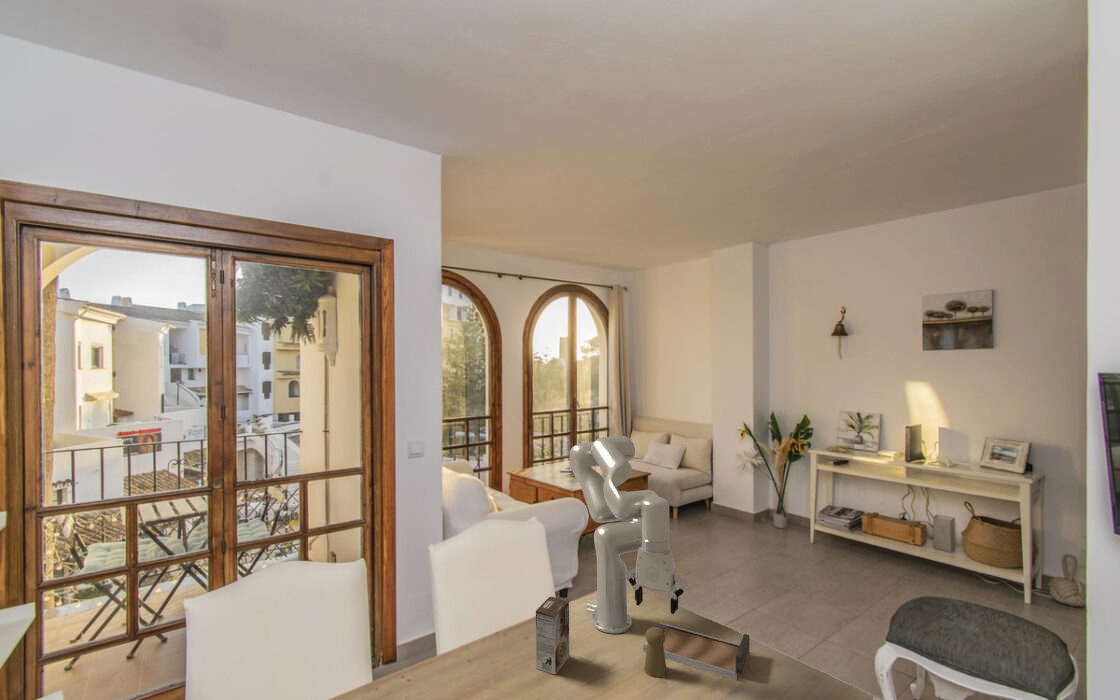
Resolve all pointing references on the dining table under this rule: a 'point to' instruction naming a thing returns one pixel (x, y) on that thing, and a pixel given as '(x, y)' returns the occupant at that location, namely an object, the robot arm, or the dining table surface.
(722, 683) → the dining table surface
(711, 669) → the rails
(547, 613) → the coffee box
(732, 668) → the brown tray
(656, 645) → the cork
